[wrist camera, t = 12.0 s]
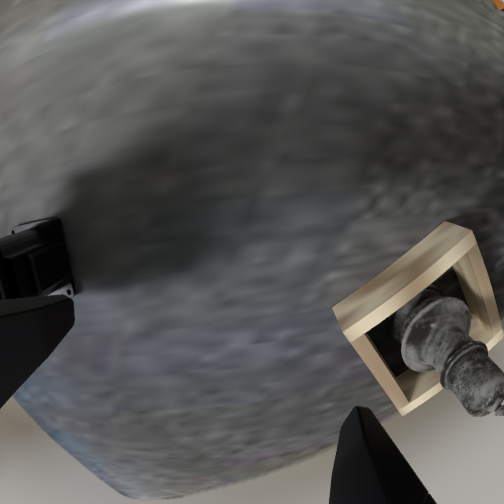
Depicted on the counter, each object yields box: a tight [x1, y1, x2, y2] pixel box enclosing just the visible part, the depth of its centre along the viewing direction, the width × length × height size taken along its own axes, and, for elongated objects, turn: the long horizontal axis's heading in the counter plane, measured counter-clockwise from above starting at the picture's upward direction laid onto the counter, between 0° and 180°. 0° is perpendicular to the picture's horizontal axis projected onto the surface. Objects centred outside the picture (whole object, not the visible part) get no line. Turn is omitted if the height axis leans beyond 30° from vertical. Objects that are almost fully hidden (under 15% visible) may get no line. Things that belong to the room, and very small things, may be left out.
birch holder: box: [332, 221, 504, 416], centre depth 19 cm, size 10×10×4 cm
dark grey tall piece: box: [388, 284, 504, 417], centre depth 14 cm, size 6×6×12 cm
